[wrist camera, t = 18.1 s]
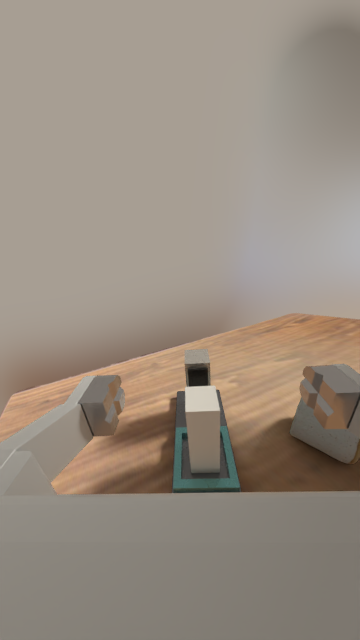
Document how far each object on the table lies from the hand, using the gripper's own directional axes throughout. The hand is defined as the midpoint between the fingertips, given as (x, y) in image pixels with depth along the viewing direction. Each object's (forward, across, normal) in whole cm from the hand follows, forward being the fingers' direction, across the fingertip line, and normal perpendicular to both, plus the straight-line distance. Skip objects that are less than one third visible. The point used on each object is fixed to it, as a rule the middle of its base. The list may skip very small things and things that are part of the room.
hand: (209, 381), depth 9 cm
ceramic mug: (+15, -20, +26) cm, 36 cm away
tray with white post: (+16, 0, +26) cm, 30 cm away
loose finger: (+11, 0, +24) cm, 27 cm away
